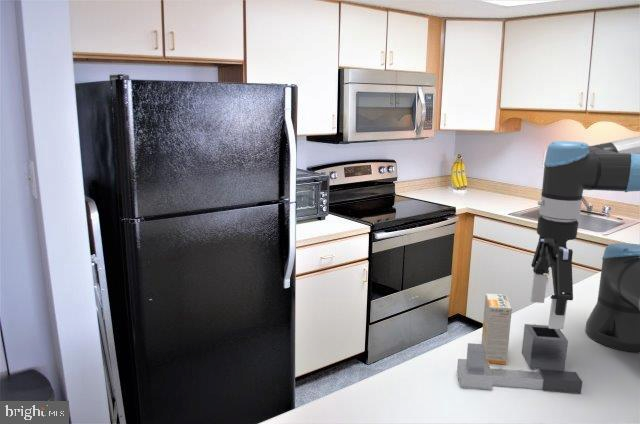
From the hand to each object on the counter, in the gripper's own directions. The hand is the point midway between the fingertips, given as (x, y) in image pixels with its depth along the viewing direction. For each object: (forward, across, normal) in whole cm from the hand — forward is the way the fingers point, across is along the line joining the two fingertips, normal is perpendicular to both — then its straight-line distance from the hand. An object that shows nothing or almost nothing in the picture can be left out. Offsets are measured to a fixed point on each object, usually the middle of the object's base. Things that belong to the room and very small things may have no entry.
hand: (545, 314), depth 110 cm
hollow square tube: (+11, 0, 0) cm, 11 cm away
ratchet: (+11, +10, -7) cm, 17 cm away
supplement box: (+11, -2, -10) cm, 15 cm away
